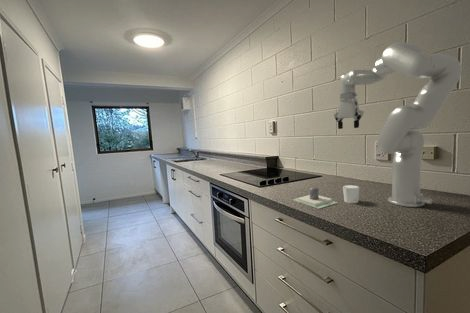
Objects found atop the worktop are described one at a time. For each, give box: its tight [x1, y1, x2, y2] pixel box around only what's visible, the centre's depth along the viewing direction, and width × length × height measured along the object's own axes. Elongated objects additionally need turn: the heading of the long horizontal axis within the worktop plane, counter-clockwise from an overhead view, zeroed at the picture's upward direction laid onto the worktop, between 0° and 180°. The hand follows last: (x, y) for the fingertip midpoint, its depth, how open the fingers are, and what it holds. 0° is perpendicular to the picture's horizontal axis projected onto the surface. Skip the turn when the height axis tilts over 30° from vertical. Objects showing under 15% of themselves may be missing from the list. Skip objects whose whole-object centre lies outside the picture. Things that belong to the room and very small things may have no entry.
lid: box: [296, 186, 333, 206], centre depth 104 cm, size 11×11×6 cm
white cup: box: [342, 184, 360, 204], centre depth 101 cm, size 7×7×7 cm
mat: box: [292, 198, 338, 210], centre depth 105 cm, size 16×12×1 cm
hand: (348, 128), depth 124 cm, fingers open, 9 cm apart
